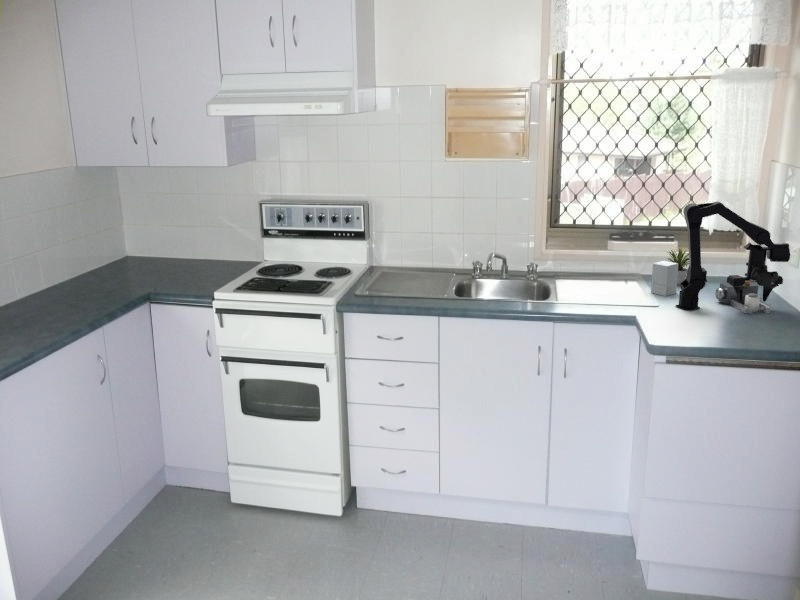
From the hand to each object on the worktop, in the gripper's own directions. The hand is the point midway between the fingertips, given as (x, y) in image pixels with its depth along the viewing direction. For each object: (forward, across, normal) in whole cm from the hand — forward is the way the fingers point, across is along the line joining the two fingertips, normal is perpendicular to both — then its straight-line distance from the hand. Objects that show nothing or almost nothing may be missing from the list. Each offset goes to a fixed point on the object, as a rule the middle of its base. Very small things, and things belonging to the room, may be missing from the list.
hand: (752, 301), depth 267 cm
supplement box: (+3, -23, +27) cm, 35 cm away
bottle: (+3, 0, 0) cm, 3 cm away
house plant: (+3, -12, +40) cm, 41 cm away
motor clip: (+3, -1, +4) cm, 5 cm away
